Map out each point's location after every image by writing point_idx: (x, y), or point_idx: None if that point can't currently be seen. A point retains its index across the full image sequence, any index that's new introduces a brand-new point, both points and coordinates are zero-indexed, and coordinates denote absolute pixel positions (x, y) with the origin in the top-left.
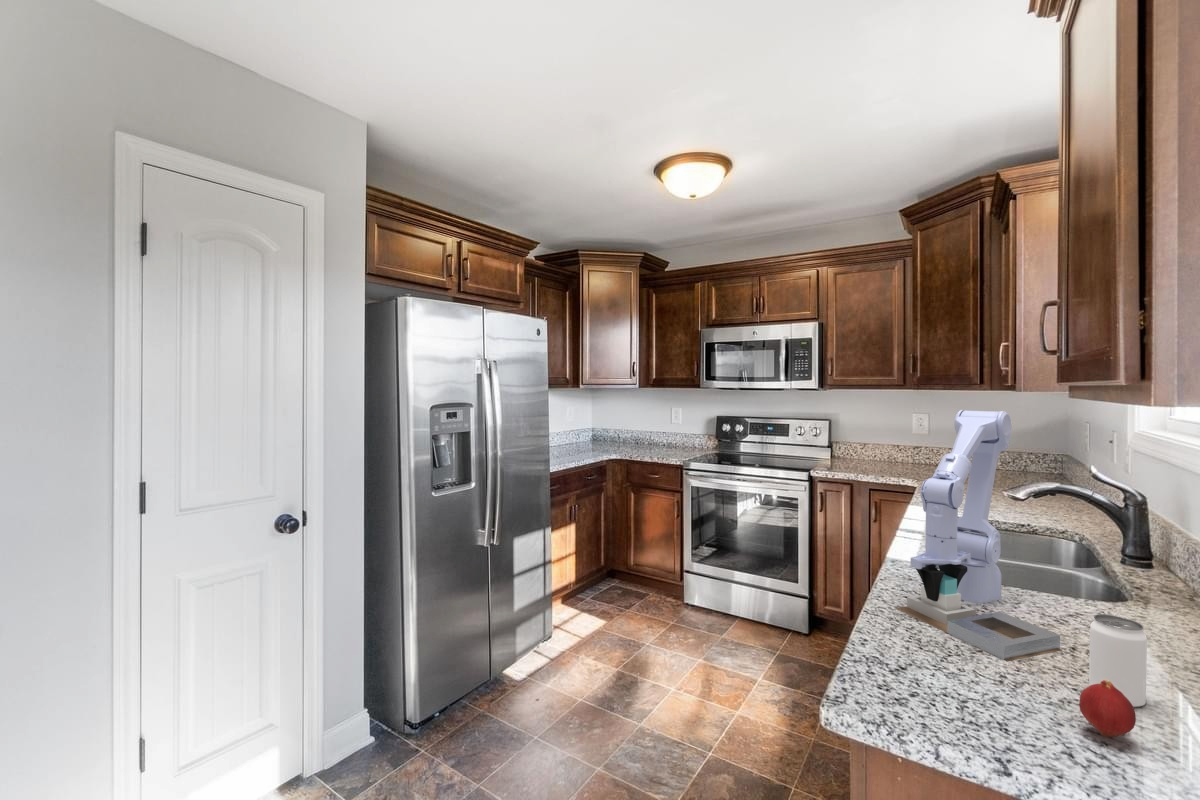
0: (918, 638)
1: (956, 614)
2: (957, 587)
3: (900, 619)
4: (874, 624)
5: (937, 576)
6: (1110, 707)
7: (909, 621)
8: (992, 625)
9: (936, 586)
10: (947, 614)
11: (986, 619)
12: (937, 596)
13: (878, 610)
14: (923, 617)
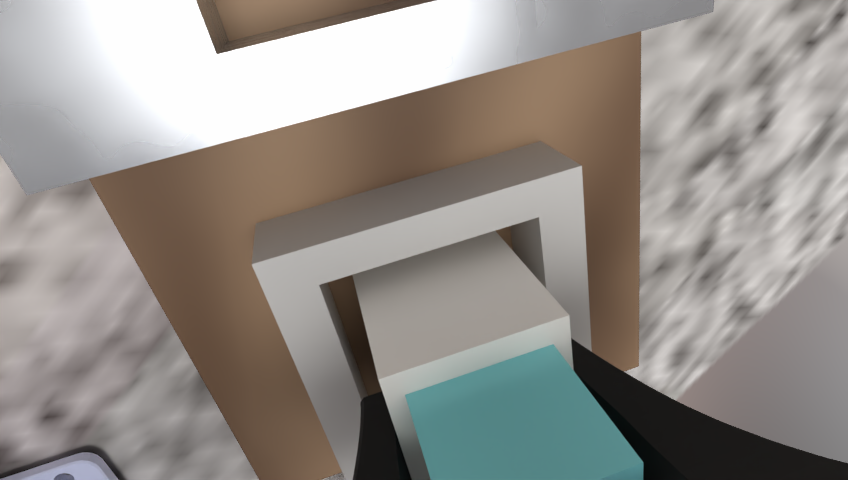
0: (800, 5)
1: (471, 191)
2: (361, 477)
3: (675, 264)
4: (844, 200)
5: (825, 475)
6: None
7: (651, 240)
8: (227, 44)
9: (672, 403)
10: (570, 168)
11: (309, 31)
12: (575, 352)
13: (688, 360)
14: (592, 253)
